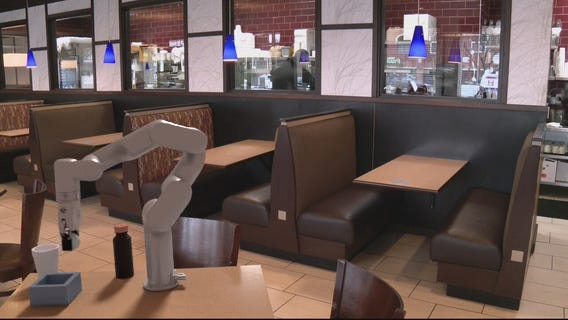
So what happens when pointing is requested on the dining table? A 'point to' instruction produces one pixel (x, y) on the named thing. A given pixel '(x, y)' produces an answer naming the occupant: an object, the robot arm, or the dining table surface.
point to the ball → (74, 241)
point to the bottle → (123, 252)
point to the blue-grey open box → (55, 289)
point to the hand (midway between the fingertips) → (71, 247)
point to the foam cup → (46, 258)
